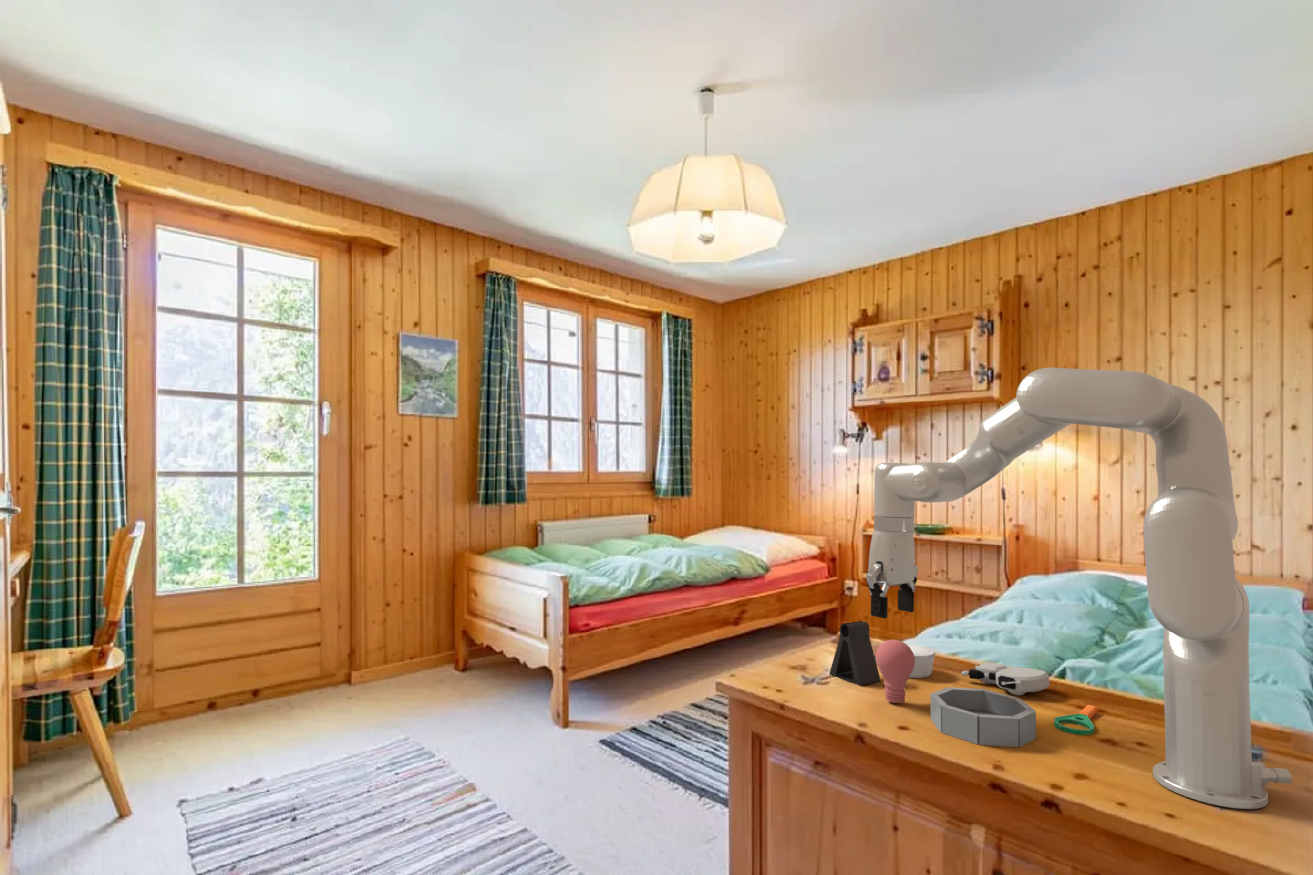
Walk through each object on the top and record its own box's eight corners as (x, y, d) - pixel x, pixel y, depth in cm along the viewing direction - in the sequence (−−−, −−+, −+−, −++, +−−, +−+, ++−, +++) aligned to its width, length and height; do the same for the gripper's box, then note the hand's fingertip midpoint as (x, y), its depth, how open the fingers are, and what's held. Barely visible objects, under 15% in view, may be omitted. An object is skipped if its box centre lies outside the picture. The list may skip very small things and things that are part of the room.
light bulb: (903, 712, 124) (903, 646, 124) (868, 702, 129) (868, 639, 130) (922, 704, 128) (921, 640, 129) (887, 694, 134) (887, 634, 134)
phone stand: (829, 675, 146) (829, 619, 147) (848, 671, 149) (848, 617, 150) (861, 686, 139) (860, 628, 139) (880, 682, 142) (880, 625, 142)
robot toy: (957, 686, 143) (1024, 702, 130) (956, 664, 144) (1022, 678, 130) (995, 679, 149) (1062, 693, 136) (993, 658, 149) (1060, 670, 136)
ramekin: (897, 662, 157) (897, 640, 158) (944, 673, 149) (944, 649, 149) (872, 671, 150) (872, 647, 150) (921, 683, 142) (920, 658, 142)
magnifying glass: (1088, 740, 113) (1088, 730, 113) (1048, 729, 117) (1048, 720, 117) (1111, 718, 123) (1111, 709, 123) (1074, 710, 128) (1073, 701, 128)
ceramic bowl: (1009, 715, 123) (1009, 690, 123) (1049, 748, 108) (1048, 720, 108) (923, 710, 125) (923, 685, 125) (949, 742, 110) (949, 715, 110)
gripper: (899, 522, 139) (898, 605, 138) (852, 525, 128) (850, 615, 127) (934, 525, 133) (933, 612, 133) (887, 529, 122) (886, 623, 121)
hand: (892, 613), depth 130 cm, fingers open, 9 cm apart
